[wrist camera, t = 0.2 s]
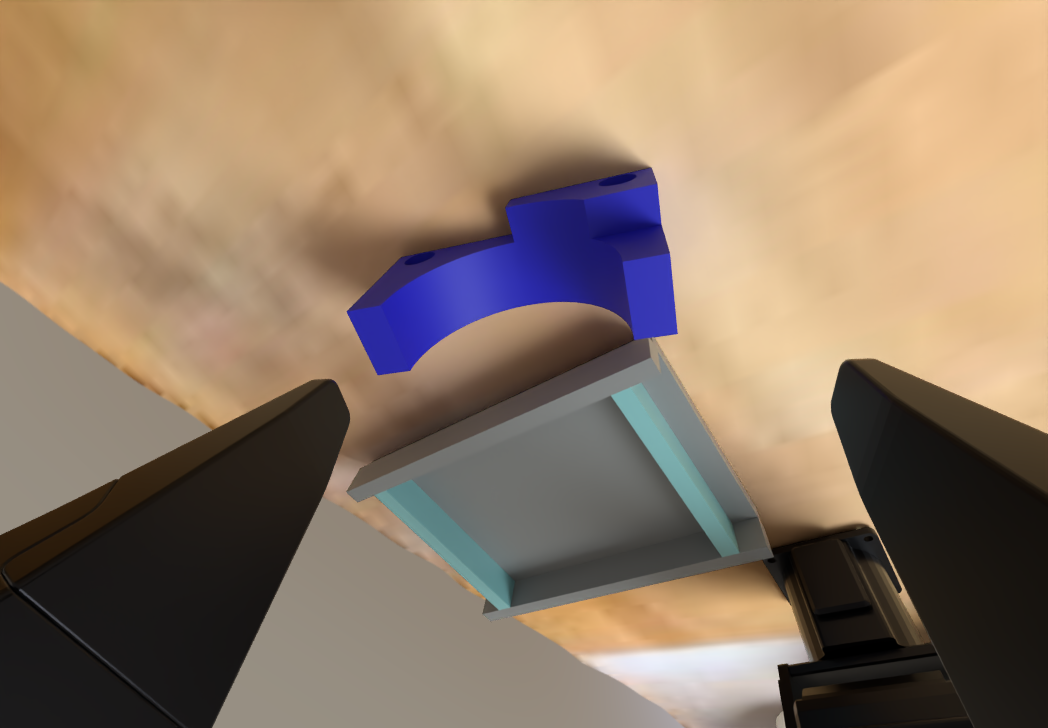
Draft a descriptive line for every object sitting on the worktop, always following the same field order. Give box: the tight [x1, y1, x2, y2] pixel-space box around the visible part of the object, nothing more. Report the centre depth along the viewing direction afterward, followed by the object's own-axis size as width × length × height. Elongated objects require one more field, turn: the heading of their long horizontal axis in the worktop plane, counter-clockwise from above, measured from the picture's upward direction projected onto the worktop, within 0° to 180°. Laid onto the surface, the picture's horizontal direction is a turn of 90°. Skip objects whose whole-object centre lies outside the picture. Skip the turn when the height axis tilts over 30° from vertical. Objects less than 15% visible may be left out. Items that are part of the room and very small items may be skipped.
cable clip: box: [347, 168, 678, 375], centre depth 20 cm, size 12×4×6 cm, turn 104°
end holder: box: [347, 337, 774, 621], centre depth 29 cm, size 15×20×3 cm
